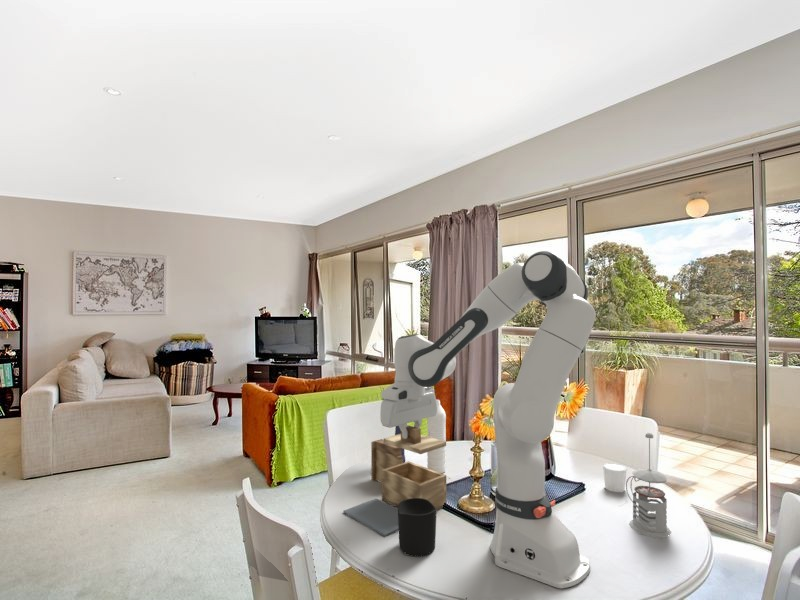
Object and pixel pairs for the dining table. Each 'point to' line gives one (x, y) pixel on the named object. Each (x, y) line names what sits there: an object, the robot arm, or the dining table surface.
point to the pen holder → (417, 526)
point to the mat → (376, 516)
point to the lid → (415, 441)
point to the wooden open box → (413, 484)
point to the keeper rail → (382, 461)
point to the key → (388, 448)
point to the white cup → (614, 477)
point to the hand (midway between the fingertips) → (410, 436)
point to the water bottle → (438, 432)
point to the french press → (649, 521)
